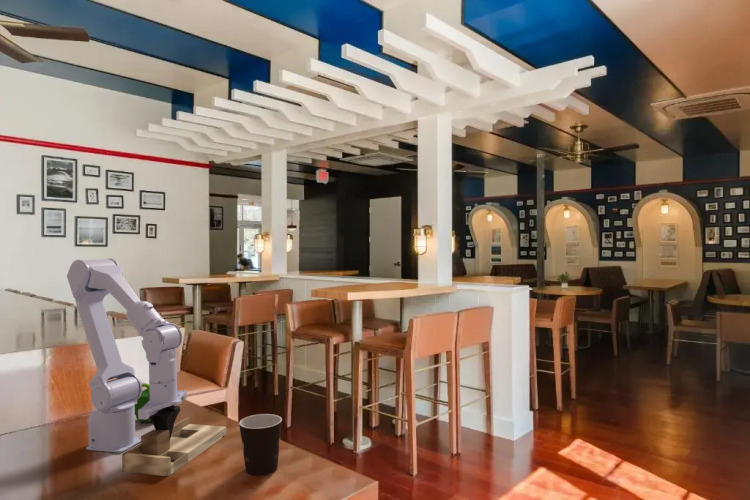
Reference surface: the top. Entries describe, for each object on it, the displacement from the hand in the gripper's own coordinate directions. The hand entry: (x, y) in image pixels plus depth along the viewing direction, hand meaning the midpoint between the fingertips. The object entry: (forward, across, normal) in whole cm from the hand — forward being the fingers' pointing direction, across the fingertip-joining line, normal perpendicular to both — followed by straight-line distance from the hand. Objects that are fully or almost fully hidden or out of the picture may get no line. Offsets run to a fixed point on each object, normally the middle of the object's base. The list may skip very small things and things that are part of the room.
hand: (164, 441), depth 115 cm
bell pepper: (+3, +20, +18) cm, 27 cm away
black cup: (+3, -1, -24) cm, 25 cm away
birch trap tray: (+3, +2, -2) cm, 5 cm away
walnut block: (+1, -3, 0) cm, 4 cm away
